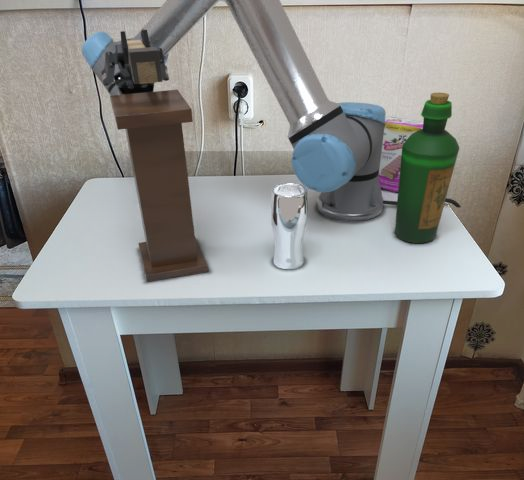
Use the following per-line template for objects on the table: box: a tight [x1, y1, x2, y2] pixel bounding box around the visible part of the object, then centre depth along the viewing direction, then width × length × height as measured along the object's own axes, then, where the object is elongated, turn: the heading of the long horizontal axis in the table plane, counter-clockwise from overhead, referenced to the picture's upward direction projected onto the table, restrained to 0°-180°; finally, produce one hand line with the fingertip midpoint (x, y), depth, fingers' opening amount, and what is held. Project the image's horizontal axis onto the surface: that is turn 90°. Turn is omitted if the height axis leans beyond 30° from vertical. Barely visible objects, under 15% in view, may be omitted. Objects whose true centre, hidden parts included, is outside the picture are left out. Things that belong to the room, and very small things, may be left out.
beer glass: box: [270, 182, 309, 270], centre depth 99 cm, size 7×7×15 cm
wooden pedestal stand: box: [109, 89, 209, 283], centre depth 96 cm, size 14×12×30 cm
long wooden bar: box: [127, 40, 164, 84], centre depth 87 cm, size 22×4×4 cm, turn 17°
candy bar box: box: [378, 115, 423, 194], centre depth 126 cm, size 11×5×16 cm, turn 58°
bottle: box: [394, 91, 460, 244], centre depth 103 cm, size 11×11×28 cm
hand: (135, 39), depth 88 cm, fingers closed on long wooden bar, 3 cm apart
